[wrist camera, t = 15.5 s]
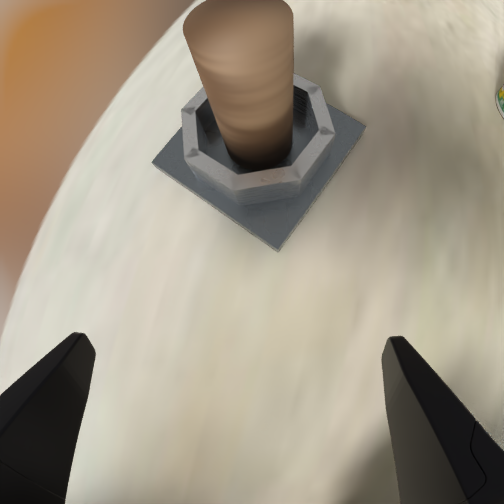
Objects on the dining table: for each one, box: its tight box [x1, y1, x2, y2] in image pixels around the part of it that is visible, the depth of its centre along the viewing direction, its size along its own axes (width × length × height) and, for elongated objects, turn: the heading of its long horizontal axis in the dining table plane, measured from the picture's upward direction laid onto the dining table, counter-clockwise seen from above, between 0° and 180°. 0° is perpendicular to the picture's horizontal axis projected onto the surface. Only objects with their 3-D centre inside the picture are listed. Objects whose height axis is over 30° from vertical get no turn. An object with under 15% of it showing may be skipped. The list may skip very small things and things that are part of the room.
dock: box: [152, 73, 366, 252], centre depth 22 cm, size 12×12×4 cm
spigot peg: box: [183, 0, 294, 170], centre depth 18 cm, size 5×5×12 cm
